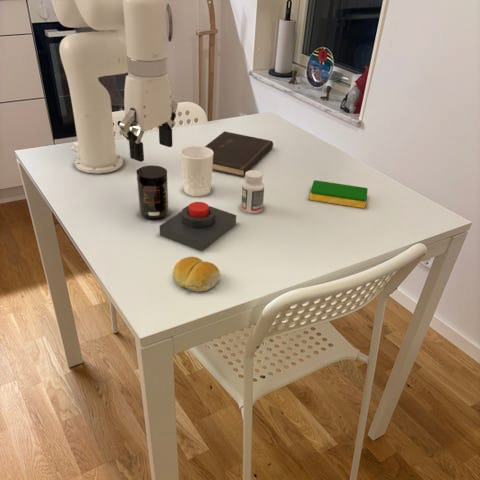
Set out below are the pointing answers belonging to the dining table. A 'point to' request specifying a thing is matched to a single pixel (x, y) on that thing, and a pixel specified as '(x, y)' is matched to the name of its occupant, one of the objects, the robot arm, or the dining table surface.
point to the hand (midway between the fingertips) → (152, 152)
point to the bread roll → (195, 274)
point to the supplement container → (153, 192)
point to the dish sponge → (339, 194)
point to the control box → (197, 227)
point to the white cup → (197, 170)
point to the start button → (198, 209)
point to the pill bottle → (252, 192)
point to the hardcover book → (237, 152)
